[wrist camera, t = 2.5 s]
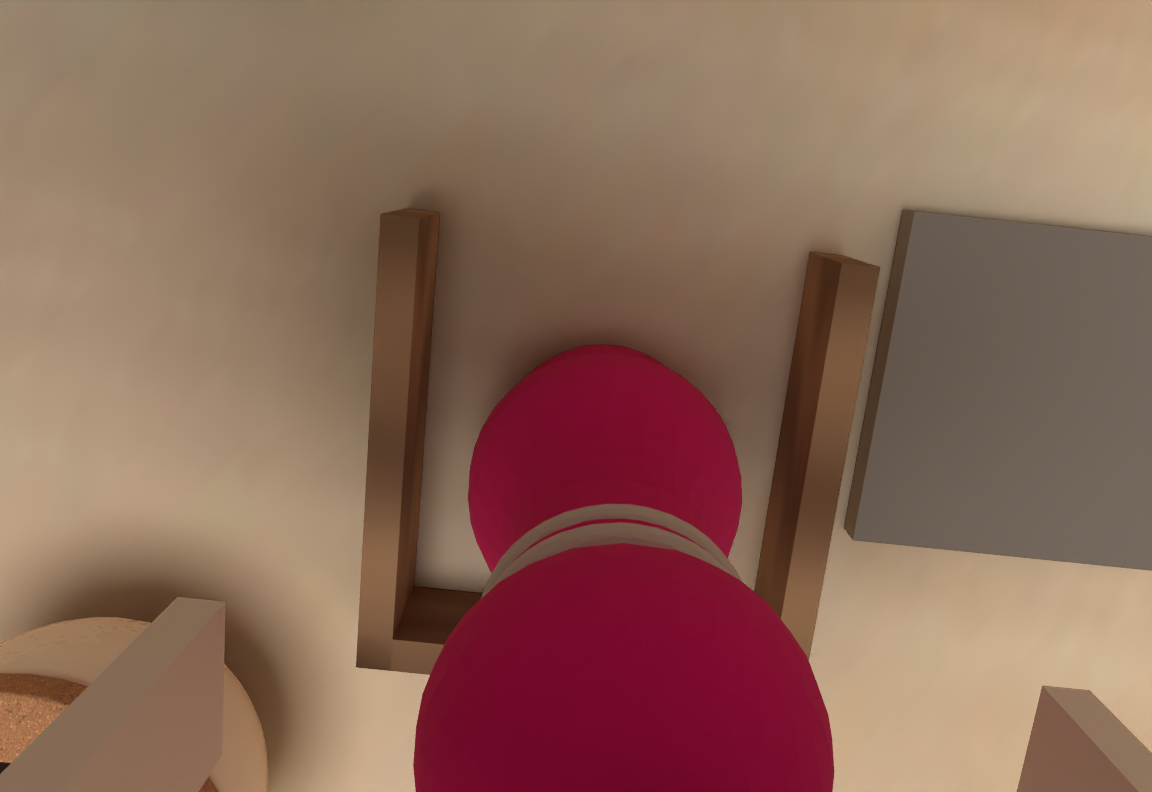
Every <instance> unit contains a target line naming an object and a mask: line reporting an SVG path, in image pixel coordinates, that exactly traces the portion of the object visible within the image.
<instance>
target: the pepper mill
mask: <svg viewBox="0 0 1152 792" xmlns="http://www.w3.org/2000/svg"><path fill="white" fill-rule="evenodd" d="M468 502H469V511H470V519H471V524H472V528H473V531H474V534H475V538H476V541H477V544H478V546H479V548H480V550H481V552H482V554H483V556H484V559H485V561H486V563H487V565H488V567H489V569H490V571H491V573H492V574H491V576H490V578H489V580H488V582H487V584H486V586H485V589H484V591H483V594H482V597H481V599H480V600H479V601H478V602H477V603H476V604H475V605H474V606H473V607H472V608H471V609H470V610H469V611H467V612H466V613H465V615H464V616H463V617H462V619H461V620H460V622H459V623H458V624H457V626H456V627H455V629H454V630H453V631H452V633H451V634H450V635H449V637H448V639H447V641H446V643H445V645H444V647H443V649H442V651H441V653H440V655H439V657H438V659H437V661H436V663H435V665H434V667H433V669H432V672H431V674H430V677H429V679H428V682H427V685H426V687H425V690H424V692H423V695H422V700H421V705H420V710H419V716H418V721H417V726H416V738H415V752H414V765H413V766H414V777H415V787H416V792H832V789H833V779H834V762H833V747H832V736H831V729H830V723H829V717H828V713H827V710H826V707H825V705H824V702H823V699H822V696H821V693H820V691H819V688H818V685H817V682H816V680H815V677H814V674H813V671H812V669H811V666H810V663H809V661H808V658H807V656H806V654H805V653H804V651H803V650H802V648H801V647H800V645H799V644H798V642H797V641H796V639H795V638H794V636H793V634H792V633H791V631H790V630H789V629H788V628H787V626H786V625H785V624H784V623H783V621H782V620H781V619H780V618H779V616H778V615H777V614H776V613H775V611H774V610H773V609H772V608H771V606H770V605H769V604H768V603H767V602H766V601H765V600H764V599H762V598H761V597H760V596H759V595H757V594H756V593H755V592H754V591H752V590H751V589H750V588H749V587H748V586H746V585H745V584H744V583H743V582H742V581H741V579H740V577H739V575H738V573H737V571H736V570H735V568H734V567H733V566H732V564H731V563H730V562H729V560H728V559H727V558H728V555H729V552H730V549H731V546H732V543H733V540H734V538H735V535H736V532H737V529H738V524H739V518H740V512H741V506H742V488H741V475H740V470H739V466H738V461H737V457H736V453H735V449H734V445H733V442H732V439H731V437H730V435H729V432H728V430H727V428H726V425H725V423H724V422H723V420H722V419H721V417H720V415H719V414H718V412H717V411H716V409H715V408H714V406H713V405H712V404H711V403H710V402H709V401H708V400H707V398H706V397H705V396H704V395H703V394H702V393H701V392H700V391H699V390H698V389H697V388H695V387H694V386H693V385H692V384H691V383H689V382H688V381H687V380H686V379H685V378H683V377H681V376H680V375H678V374H676V373H674V372H673V371H671V370H669V369H667V368H666V367H665V366H664V365H662V364H661V363H660V362H658V361H657V360H655V359H653V358H652V357H650V356H648V355H645V354H643V353H641V352H639V351H636V350H632V349H629V348H625V347H621V346H614V345H591V346H583V347H579V348H576V349H572V350H569V351H566V352H563V353H561V354H559V355H557V356H555V357H553V358H551V359H549V360H547V361H545V362H544V363H542V364H541V365H540V366H538V367H537V368H536V369H535V370H533V371H532V372H531V373H530V374H529V375H528V376H527V377H526V378H525V379H524V380H523V381H521V382H520V383H519V384H518V385H516V386H515V387H514V388H512V389H511V390H510V391H509V392H508V393H507V395H506V396H505V397H504V398H503V399H502V400H501V401H500V402H499V403H498V404H497V405H496V407H495V408H494V409H493V411H492V413H491V414H490V416H489V418H488V419H487V421H486V423H485V424H484V426H483V428H482V429H481V432H480V434H479V437H478V440H477V442H476V445H475V448H474V452H473V457H472V462H471V467H470V477H469V492H468Z"/></svg>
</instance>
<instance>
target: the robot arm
mask: <svg viewBox="0 0 1152 792" xmlns="http://www.w3.org/2000/svg"><path fill="white" fill-rule="evenodd" d="M225 607H226V602H223V601H213V600H203V599H194V598H184V597H177V598H176V599H175V600H174V601H173V602H172V603H171V604H170V605H169V606H168V607H167V608H166V609H165V610H164V611H163V612H162V613H161V614H160V615H159V616H158V617H157V618H156V619H155V620H154V621H153V622H152V623H151V624H150V625H149V626H148V627H147V628H146V629H145V630H144V631H143V632H142V633H141V634H140V635H139V636H138V637H137V638H136V639H135V640H134V641H133V642H132V643H131V644H130V645H129V646H128V647H127V648H126V649H125V650H124V651H123V652H122V653H121V654H120V655H119V656H118V657H117V658H116V659H115V660H114V661H113V662H112V663H111V664H110V665H109V666H108V667H107V668H106V669H105V670H104V671H103V672H102V673H101V674H100V675H99V676H98V677H97V678H96V679H95V680H94V681H93V682H92V683H91V684H90V685H89V686H88V687H87V688H86V689H85V690H84V691H83V692H82V693H81V694H80V695H79V696H78V697H77V698H76V699H75V700H74V701H73V702H72V703H71V704H70V705H69V706H68V707H67V708H66V709H65V710H64V711H63V712H62V713H61V714H60V715H59V716H58V717H57V718H56V719H55V720H54V721H53V722H52V723H51V724H50V725H49V726H48V727H47V728H46V729H45V730H44V731H43V732H42V733H41V734H40V735H39V736H38V737H37V738H36V739H35V740H34V741H33V742H32V743H31V744H30V745H29V746H28V747H27V748H26V749H25V750H24V751H23V752H22V753H21V754H20V755H19V756H18V757H17V758H16V759H15V760H14V761H13V762H12V763H6V762H0V792H199V790H200V789H201V787H202V786H203V784H204V783H205V781H206V779H207V778H208V776H209V775H210V773H211V772H212V770H213V769H214V767H215V765H216V764H217V762H218V761H219V759H220V758H221V756H222V741H223V696H224V652H225ZM1017 792H1152V753H1151V752H1150V751H1149V750H1148V749H1147V748H1146V747H1145V746H1144V745H1143V744H1142V743H1141V742H1140V741H1139V740H1138V739H1137V738H1136V737H1135V736H1134V735H1133V734H1132V733H1131V732H1130V731H1129V730H1128V729H1127V728H1126V727H1125V726H1124V725H1123V724H1122V723H1121V722H1120V721H1119V720H1118V719H1117V718H1116V717H1115V716H1114V715H1113V713H1112V712H1111V711H1110V710H1109V709H1108V708H1107V707H1106V706H1105V705H1104V704H1103V703H1102V702H1101V701H1100V700H1099V699H1098V698H1097V697H1096V696H1095V695H1094V694H1093V693H1092V692H1091V691H1090V690H1081V689H1071V688H1061V687H1052V686H1042V689H1041V693H1040V698H1039V702H1038V706H1037V710H1036V714H1035V718H1034V723H1033V727H1032V731H1031V735H1030V739H1029V743H1028V748H1027V752H1026V756H1025V760H1024V764H1023V768H1022V773H1021V777H1020V781H1019V785H1018V789H1017Z"/></svg>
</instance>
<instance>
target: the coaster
mask: <svg viewBox="0 0 1152 792" xmlns="http://www.w3.org/2000/svg"><path fill="white" fill-rule="evenodd" d="M844 529H845V530H846V531H847V533H848V534H849V535H850V537H851V538H852V540H856V541H866V542H876V543H886V544H896V545H905V546H915V547H925V548H935V549H945V550H955V551H964V552H974V553H984V554H994V555H1004V556H1014V557H1023V558H1033V559H1043V560H1053V561H1063V562H1073V563H1082V564H1092V565H1102V566H1112V567H1122V568H1132V569H1141V570H1151V571H1152V236H1143V235H1134V234H1124V233H1115V232H1106V231H1097V230H1087V229H1078V228H1069V227H1059V226H1050V225H1041V224H1032V223H1022V222H1013V221H1004V220H995V219H985V218H976V217H967V216H958V215H948V214H939V213H930V212H920V211H911V210H903V211H902V217H901V222H900V228H899V233H898V238H897V244H896V249H895V255H894V260H893V265H892V271H891V276H890V282H889V287H888V293H887V298H886V303H885V309H884V314H883V320H882V325H881V330H880V336H879V341H878V347H877V352H876V358H875V363H874V368H873V374H872V379H871V385H870V390H869V396H868V401H867V406H866V412H865V417H864V423H863V428H862V433H861V439H860V444H859V450H858V455H857V461H856V466H855V471H854V477H853V482H852V488H851V493H850V498H849V504H848V509H847V515H846V520H845V526H844Z"/></svg>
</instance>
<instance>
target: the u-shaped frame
mask: <svg viewBox="0 0 1152 792" xmlns="http://www.w3.org/2000/svg"><path fill="white" fill-rule="evenodd" d="M439 218H440V212H432V211H423V210H413V209H402V210H397V211H392V212H388V213H383V214H381V218H380V236H379V255H378V273H377V291H376V310H375V328H374V347H373V365H372V384H371V402H370V420H369V439H368V457H367V476H366V494H365V513H364V531H363V550H362V568H361V586H360V605H359V623H358V642H357V660H356V667H358V668H368V669H378V670H389V671H399V672H409V673H419V674H429V675H430V674H431V672H432V669H433V667H434V665H435V663H436V661H437V659H438V657H439V655H440V653H441V651H442V649H443V647H444V645H445V643H446V641H447V639H448V637H449V635H450V634H451V633H452V631H453V630H454V629H455V627H456V626H457V624H458V623H459V622H460V620H461V619H462V617H463V616H464V615H465V613H466V612H467V611H469V610H470V609H471V608H472V607H473V606H474V605H475V604H476V603H477V602H478V601H479V600H480V599H481V597H482V593H472V592H462V591H452V590H442V589H432V588H422V587H414V581H415V566H416V552H417V537H418V523H419V508H420V494H421V479H422V465H423V450H424V436H425V421H426V407H427V392H428V378H429V363H430V349H431V334H432V320H433V305H434V291H435V276H436V262H437V247H438V233H439ZM879 270H880V267H878V266H875V265H872V264H868V263H865V262H862V261H859V260H856V259H853V258H850V257H847V256H843V255H834V254H825V253H816V252H810V255H809V261H808V267H807V273H806V279H805V285H804V291H803V298H802V304H801V310H800V316H799V322H798V328H797V334H796V341H795V347H794V353H793V359H792V365H791V371H790V377H789V383H788V390H787V396H786V402H785V408H784V414H783V420H782V426H781V433H780V439H779V445H778V451H777V457H776V463H775V469H774V475H773V482H772V488H771V494H770V500H769V506H768V512H767V518H766V525H765V531H764V537H763V543H762V549H761V555H760V561H759V567H758V574H757V580H756V586H755V593H756V594H757V595H759V596H760V597H761V598H762V599H764V600H765V601H766V602H767V603H768V604H769V605H770V606H771V608H772V609H773V610H774V611H775V613H776V614H777V615H778V616H779V618H780V619H781V620H782V621H783V623H784V624H785V625H786V626H787V628H788V629H789V630H790V631H791V633H792V634H793V636H794V638H795V639H796V641H797V642H798V644H799V645H800V647H801V648H802V650H803V651H804V653H805V654H806V656H807V658H808V661H809V656H810V651H811V645H812V640H813V634H814V629H815V623H816V618H817V612H818V607H819V601H820V596H821V590H822V585H823V579H824V574H825V568H826V563H827V557H828V552H829V546H830V541H831V535H832V529H833V524H834V518H835V513H836V507H837V502H838V496H839V491H840V485H841V480H842V474H843V469H844V463H845V458H846V452H847V447H848V441H849V436H850V430H851V425H852V419H853V414H854V408H855V403H856V397H857V392H858V386H859V381H860V375H861V370H862V364H863V359H864V353H865V348H866V342H867V337H868V331H869V326H870V320H871V315H872V309H873V304H874V298H875V293H876V287H877V282H878V276H879Z"/></svg>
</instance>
